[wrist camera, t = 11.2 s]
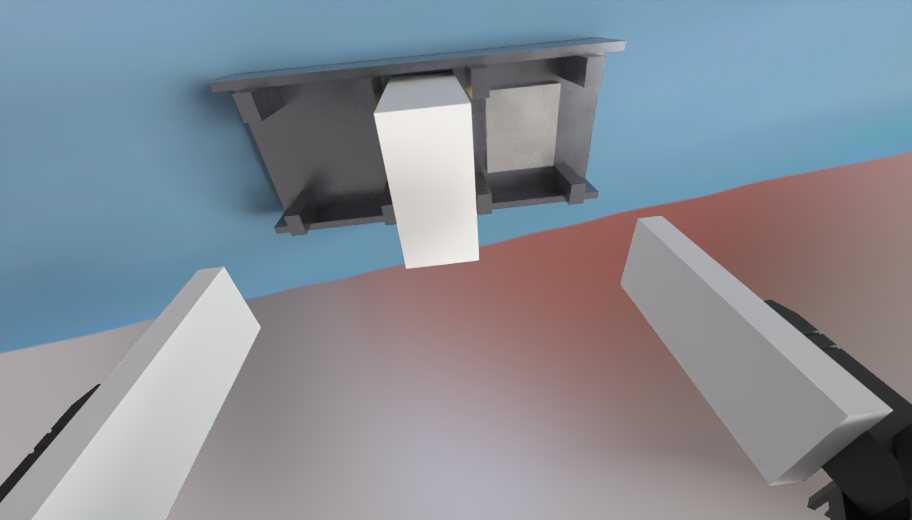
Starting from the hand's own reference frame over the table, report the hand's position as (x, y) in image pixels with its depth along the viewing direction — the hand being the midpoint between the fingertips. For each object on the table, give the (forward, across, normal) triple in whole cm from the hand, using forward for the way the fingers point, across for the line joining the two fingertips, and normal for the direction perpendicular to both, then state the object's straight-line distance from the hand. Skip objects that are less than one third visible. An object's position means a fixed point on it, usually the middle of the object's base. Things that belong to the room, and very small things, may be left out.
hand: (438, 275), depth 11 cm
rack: (+17, 0, 0) cm, 17 cm away
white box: (+16, 0, 0) cm, 16 cm away
